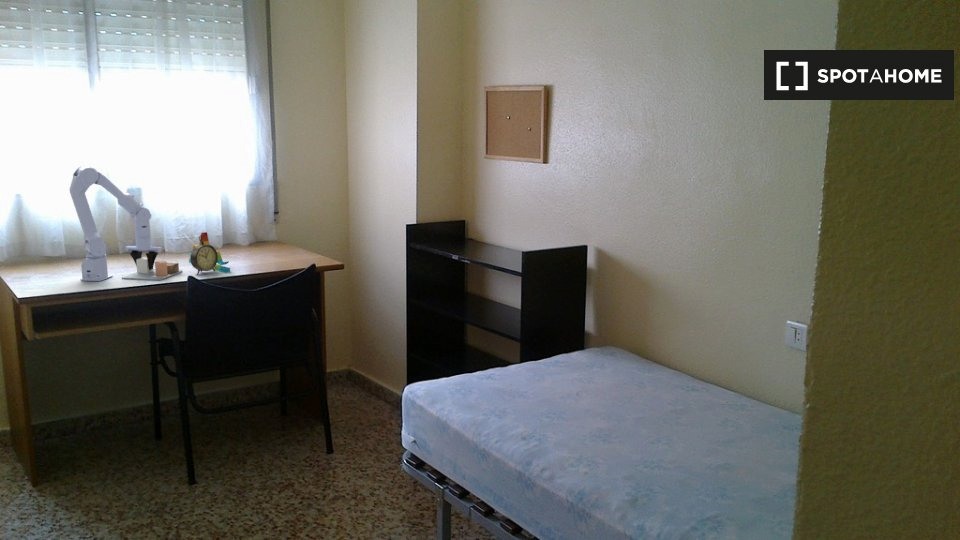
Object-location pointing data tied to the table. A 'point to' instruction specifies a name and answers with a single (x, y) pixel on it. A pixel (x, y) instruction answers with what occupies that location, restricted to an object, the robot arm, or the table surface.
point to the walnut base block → (172, 268)
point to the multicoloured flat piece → (219, 261)
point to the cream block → (143, 265)
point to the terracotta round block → (161, 268)
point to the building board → (148, 276)
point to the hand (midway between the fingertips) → (145, 269)
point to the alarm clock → (204, 257)
